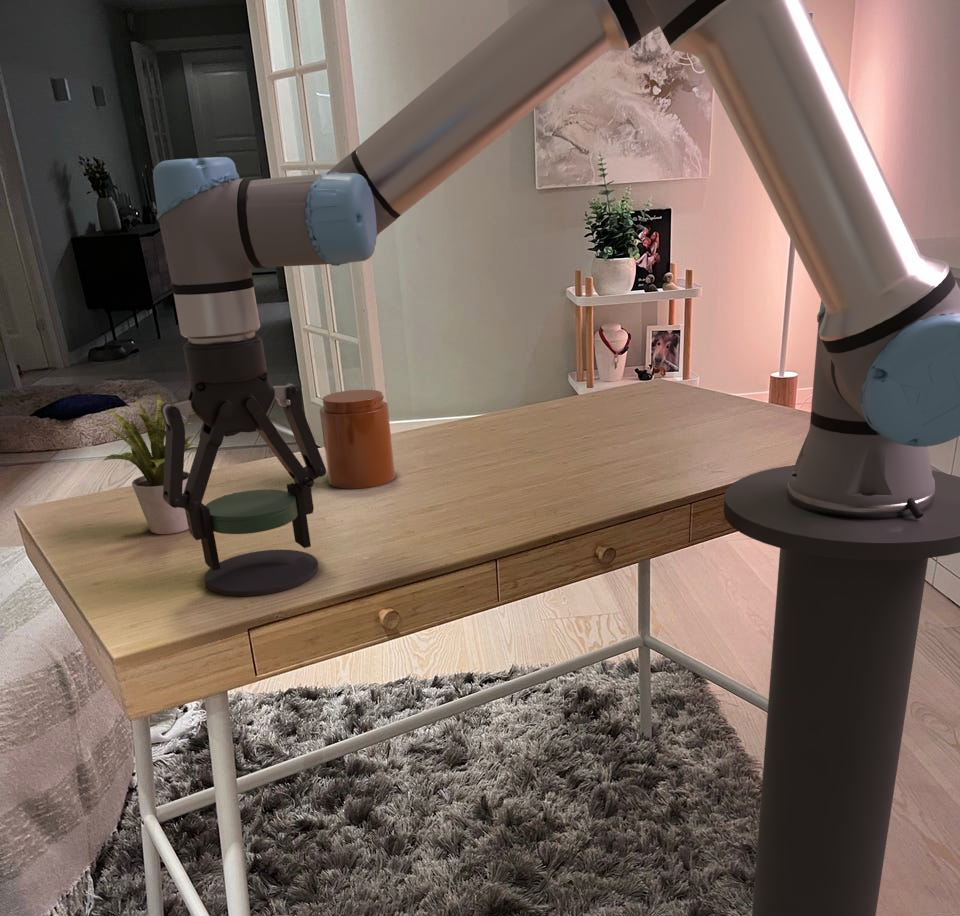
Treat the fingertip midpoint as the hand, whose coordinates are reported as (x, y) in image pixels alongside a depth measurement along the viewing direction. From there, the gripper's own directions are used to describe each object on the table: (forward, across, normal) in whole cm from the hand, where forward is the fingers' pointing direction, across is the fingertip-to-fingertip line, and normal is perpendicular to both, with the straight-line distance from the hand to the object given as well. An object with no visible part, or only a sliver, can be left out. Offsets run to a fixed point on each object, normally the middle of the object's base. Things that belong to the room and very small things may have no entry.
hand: (259, 554), depth 103 cm
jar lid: (-5, 0, 0) cm, 5 cm away
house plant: (+2, +3, -22) cm, 22 cm away
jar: (+2, -24, -26) cm, 35 cm away
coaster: (+2, 0, 0) cm, 2 cm away
